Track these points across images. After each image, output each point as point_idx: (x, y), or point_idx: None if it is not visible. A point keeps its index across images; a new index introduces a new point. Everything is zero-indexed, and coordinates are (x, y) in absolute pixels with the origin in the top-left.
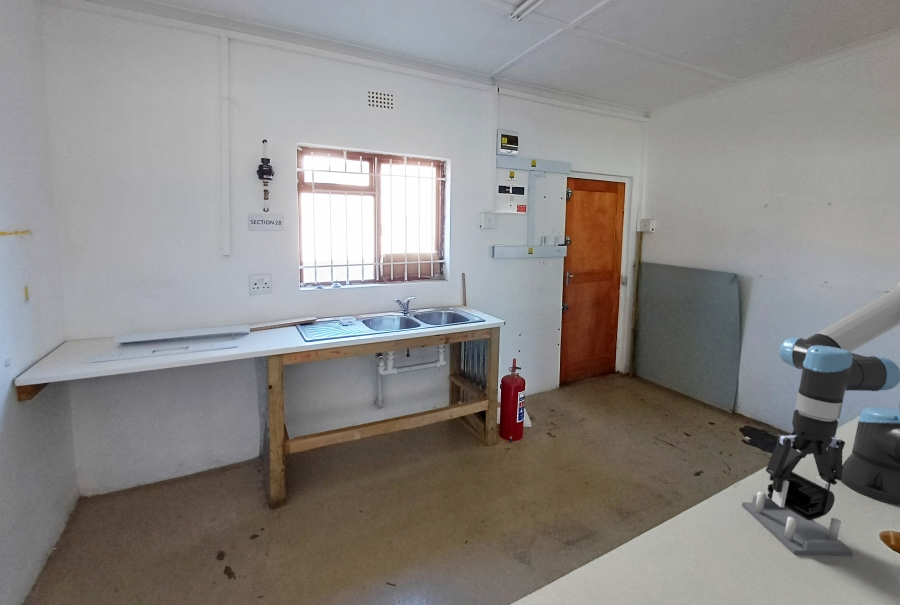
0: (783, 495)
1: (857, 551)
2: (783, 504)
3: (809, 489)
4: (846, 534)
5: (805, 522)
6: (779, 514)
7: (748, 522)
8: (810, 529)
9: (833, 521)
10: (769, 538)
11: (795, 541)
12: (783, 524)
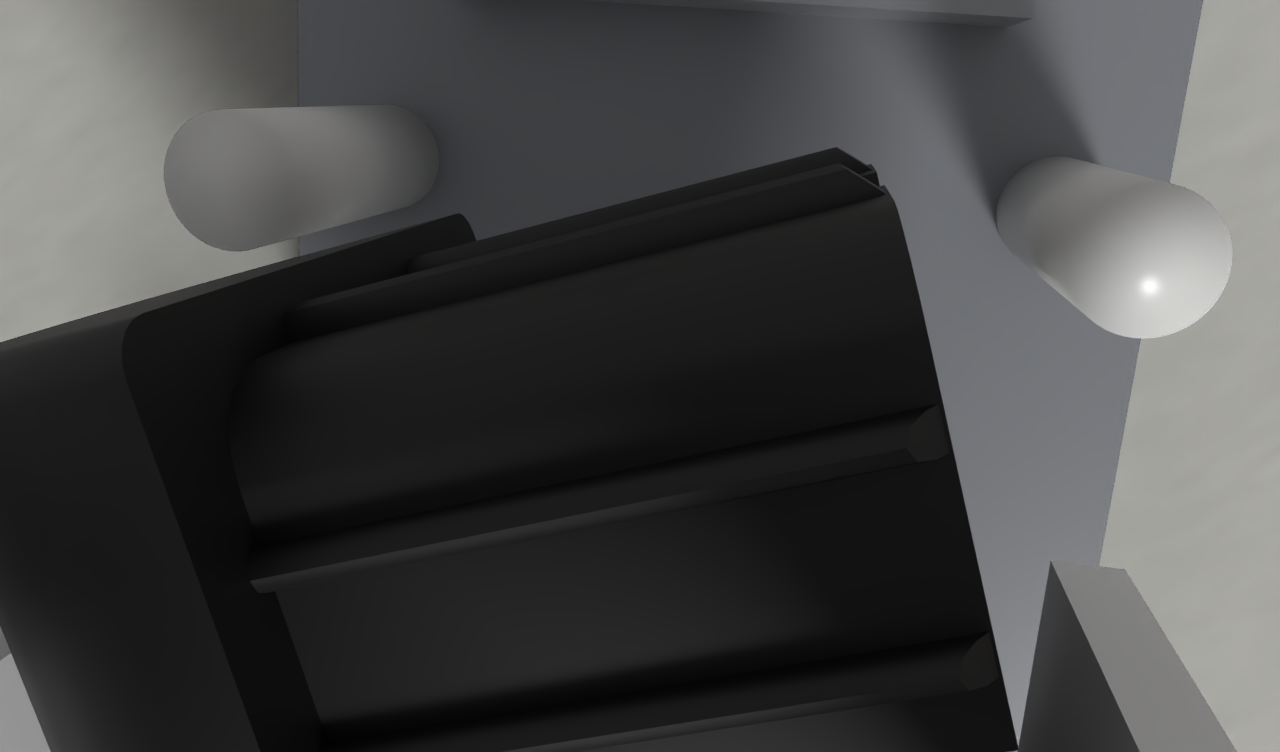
0: (1208, 723)
1: (180, 4)
2: (1088, 593)
3: (637, 635)
4: (51, 303)
5: None
6: None
7: (1252, 619)
8: None
9: (303, 163)
10: (1247, 298)
11: (991, 149)
12: None
